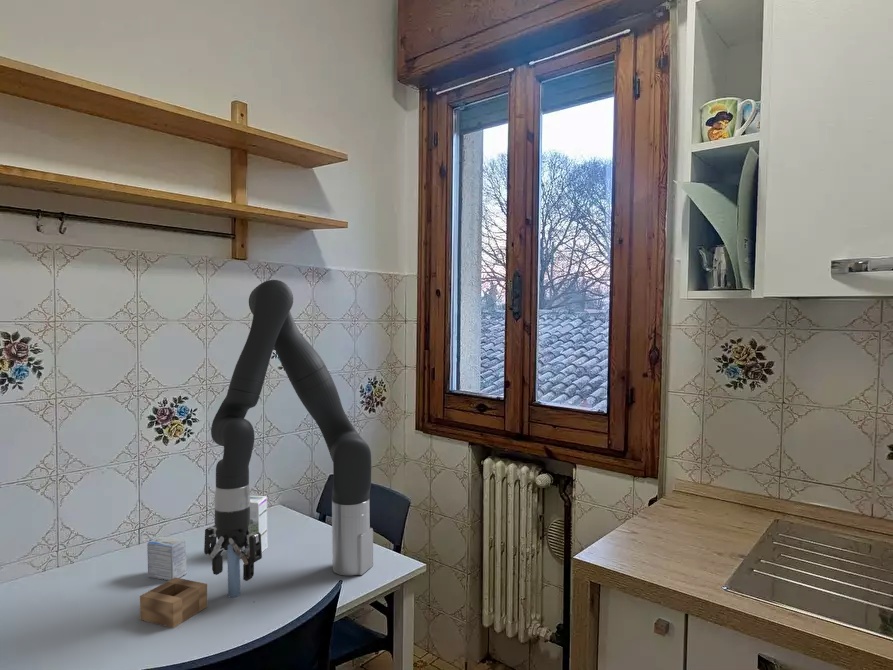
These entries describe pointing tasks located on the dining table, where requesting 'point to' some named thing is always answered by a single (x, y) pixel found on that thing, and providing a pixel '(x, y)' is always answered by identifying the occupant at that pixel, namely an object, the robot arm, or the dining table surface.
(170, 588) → the hollow square block
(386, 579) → the dining table surface
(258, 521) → the syrup box
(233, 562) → the blue rounded rod
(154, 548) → the medicine box
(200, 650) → the dining table surface
